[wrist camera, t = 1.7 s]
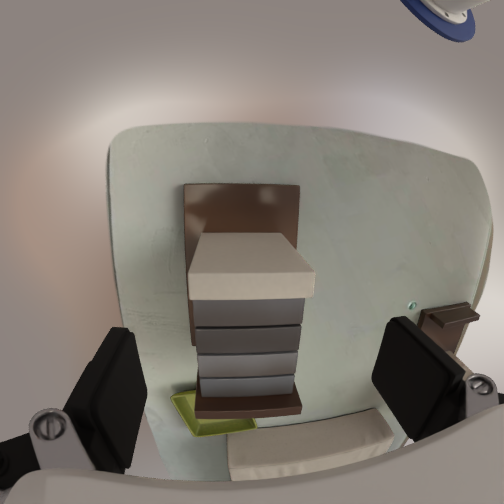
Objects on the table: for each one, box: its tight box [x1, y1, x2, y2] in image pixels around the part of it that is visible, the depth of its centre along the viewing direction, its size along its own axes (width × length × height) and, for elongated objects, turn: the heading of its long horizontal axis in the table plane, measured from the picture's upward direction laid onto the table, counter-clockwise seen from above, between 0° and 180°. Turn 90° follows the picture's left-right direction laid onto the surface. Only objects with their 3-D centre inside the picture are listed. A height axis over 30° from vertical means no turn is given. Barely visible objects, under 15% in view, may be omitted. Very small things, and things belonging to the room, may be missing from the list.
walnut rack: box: [184, 183, 305, 419], centre depth 21 cm, size 16×10×11 cm, turn 179°
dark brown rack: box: [417, 302, 480, 381], centre depth 28 cm, size 14×10×11 cm
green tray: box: [170, 390, 257, 437], centre depth 30 cm, size 9×9×2 cm
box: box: [227, 409, 394, 481], centre depth 35 cm, size 23×8×32 cm
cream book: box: [188, 233, 316, 300], centre depth 20 cm, size 2×7×10 cm, turn 89°
